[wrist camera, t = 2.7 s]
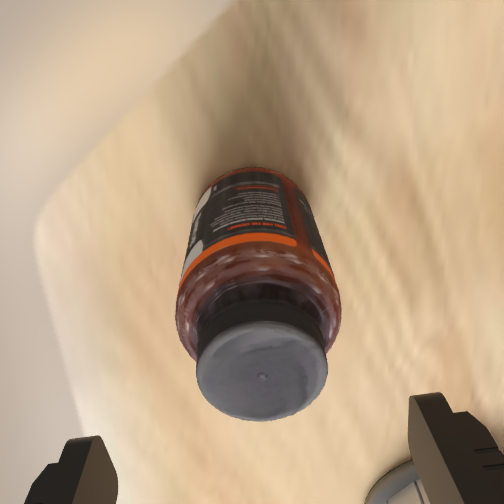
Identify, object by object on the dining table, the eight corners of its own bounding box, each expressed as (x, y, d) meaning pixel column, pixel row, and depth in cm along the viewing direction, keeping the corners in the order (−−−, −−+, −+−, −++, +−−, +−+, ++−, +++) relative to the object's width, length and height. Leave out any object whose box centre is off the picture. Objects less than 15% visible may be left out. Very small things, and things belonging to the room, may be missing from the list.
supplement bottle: (170, 202, 23) (116, 352, 13) (272, 139, 22) (300, 253, 12) (235, 287, 25) (231, 468, 15) (330, 236, 24) (394, 397, 14)
